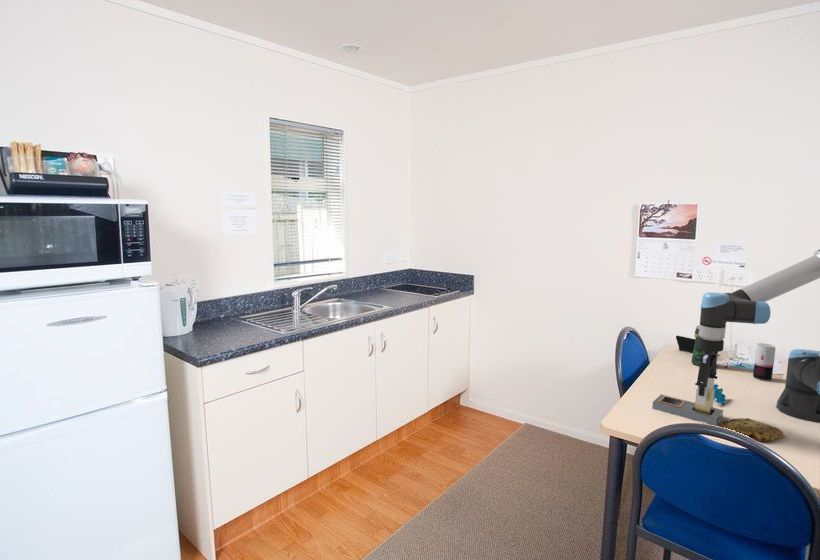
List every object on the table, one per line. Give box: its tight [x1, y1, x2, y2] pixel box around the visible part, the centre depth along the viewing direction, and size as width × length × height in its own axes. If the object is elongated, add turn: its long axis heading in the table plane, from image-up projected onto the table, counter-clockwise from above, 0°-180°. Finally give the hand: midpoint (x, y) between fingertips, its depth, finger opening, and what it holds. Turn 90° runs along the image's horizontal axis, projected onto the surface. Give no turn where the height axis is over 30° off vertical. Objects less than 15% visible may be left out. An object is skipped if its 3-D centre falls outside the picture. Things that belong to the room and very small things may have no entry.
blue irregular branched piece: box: [714, 383, 727, 405], centre depth 179 cm, size 11×6×10 cm
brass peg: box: [694, 388, 715, 415], centre depth 163 cm, size 4×4×10 cm
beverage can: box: [752, 342, 777, 382], centre depth 202 cm, size 7×7×15 cm
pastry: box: [720, 417, 785, 442], centre depth 153 cm, size 17×17×3 cm
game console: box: [675, 335, 719, 356], centre depth 239 cm, size 16×14×9 cm
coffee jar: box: [690, 325, 704, 367], centre depth 219 cm, size 10×8×19 cm
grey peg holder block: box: [652, 394, 724, 426], centre depth 167 cm, size 20×10×3 cm, turn 46°
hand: (704, 400), depth 162 cm, fingers open, 10 cm apart
